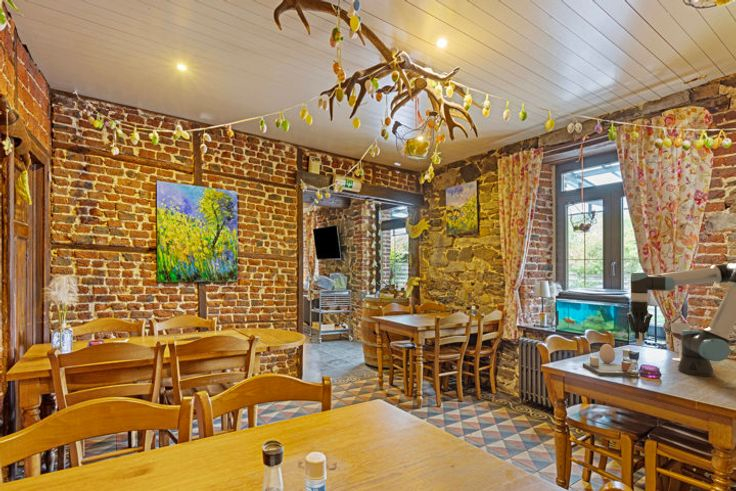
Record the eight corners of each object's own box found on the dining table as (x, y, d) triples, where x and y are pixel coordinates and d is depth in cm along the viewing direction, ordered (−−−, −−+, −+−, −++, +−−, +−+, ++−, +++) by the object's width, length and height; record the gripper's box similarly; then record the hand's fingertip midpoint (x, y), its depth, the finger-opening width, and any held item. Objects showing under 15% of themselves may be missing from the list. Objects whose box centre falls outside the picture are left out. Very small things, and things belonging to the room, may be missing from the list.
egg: (598, 361, 239) (598, 342, 239) (613, 362, 236) (613, 343, 236) (600, 364, 231) (600, 344, 232) (616, 366, 228) (616, 346, 229)
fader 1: (595, 363, 224) (595, 356, 224) (599, 365, 220) (599, 358, 220) (589, 363, 224) (589, 356, 224) (593, 365, 220) (593, 358, 220)
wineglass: (693, 361, 240) (693, 325, 240) (677, 361, 240) (677, 325, 240) (682, 357, 248) (682, 322, 249) (667, 357, 248) (666, 322, 249)
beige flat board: (618, 367, 225) (618, 363, 225) (638, 377, 207) (638, 373, 208) (582, 366, 226) (582, 362, 226) (599, 376, 208) (599, 372, 208)
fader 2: (627, 368, 214) (627, 361, 214) (631, 371, 210) (631, 363, 210) (621, 368, 214) (621, 361, 214) (625, 370, 210) (625, 363, 210)
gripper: (647, 300, 216) (647, 343, 216) (622, 299, 217) (622, 343, 216) (656, 301, 209) (656, 346, 208) (631, 301, 209) (631, 346, 209)
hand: (639, 344), depth 212 cm, fingers closed
